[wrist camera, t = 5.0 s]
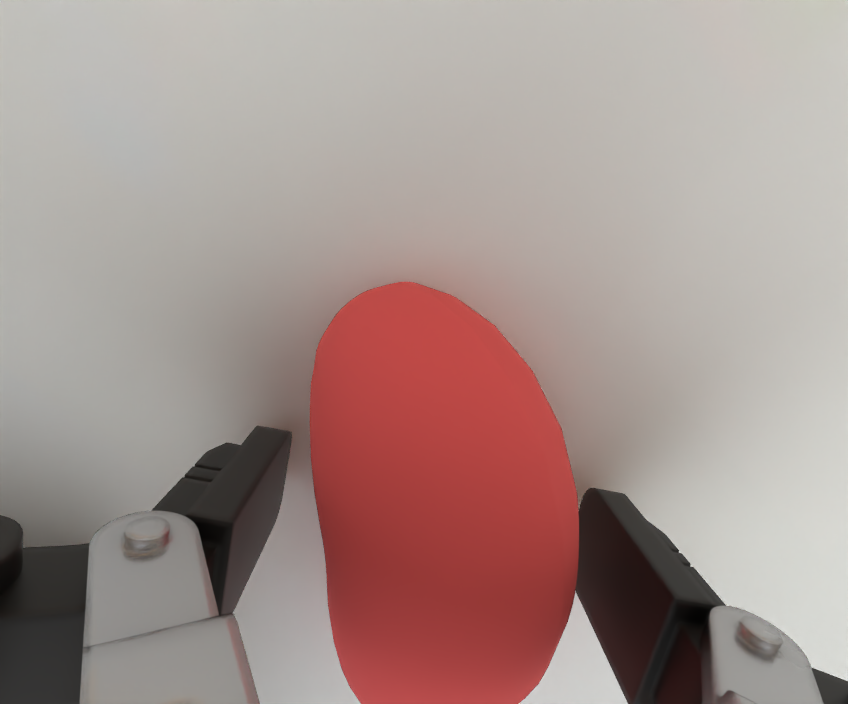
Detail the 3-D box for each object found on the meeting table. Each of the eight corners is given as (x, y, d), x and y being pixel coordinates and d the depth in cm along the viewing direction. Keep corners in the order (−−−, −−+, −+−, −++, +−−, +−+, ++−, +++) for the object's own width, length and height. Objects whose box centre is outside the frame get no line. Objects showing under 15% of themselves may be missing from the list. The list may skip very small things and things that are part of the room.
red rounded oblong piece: (589, 339, 13) (607, 249, 7) (562, 714, 11) (553, 1017, 5) (403, 327, 14) (284, 245, 8) (360, 656, 13) (181, 840, 7)
